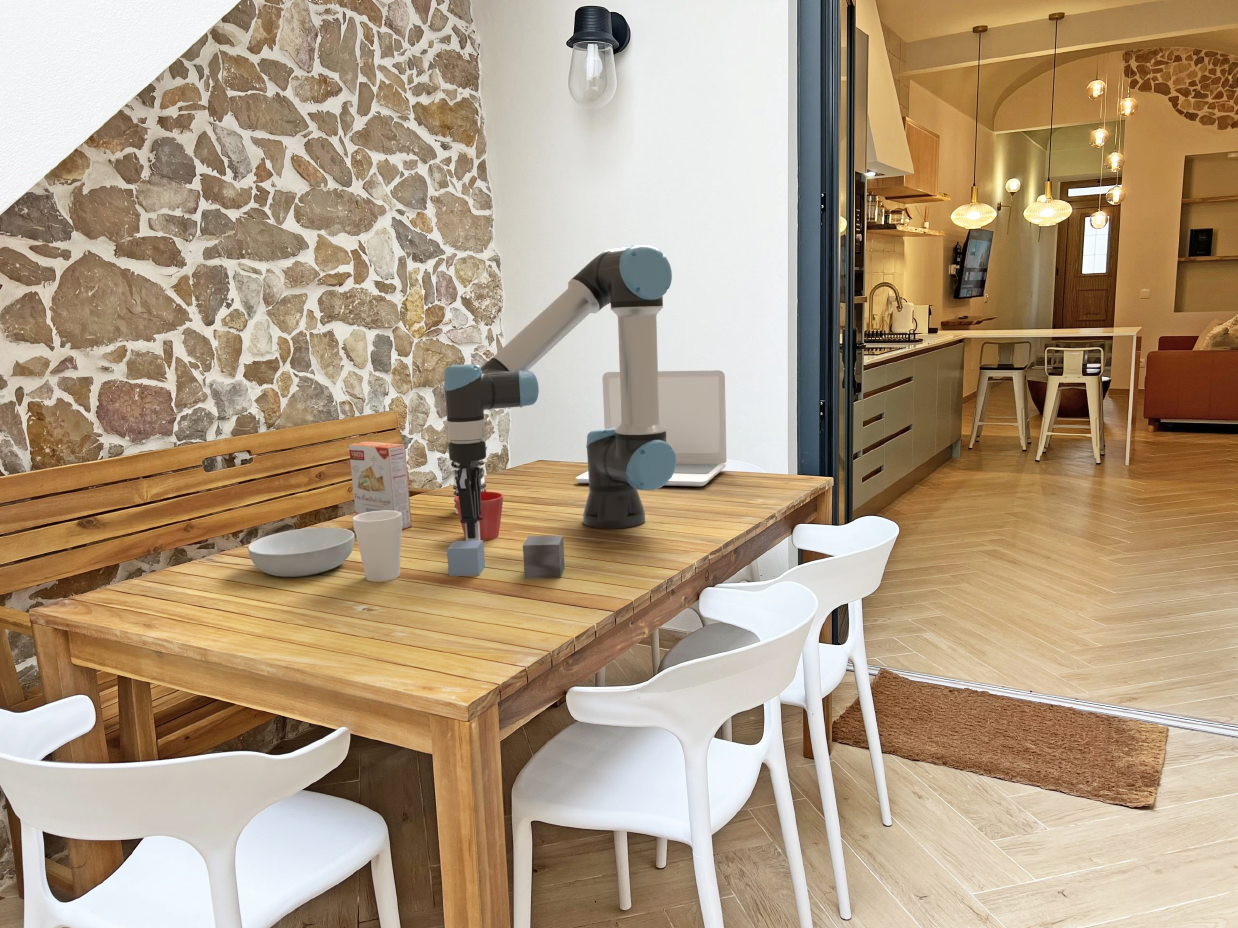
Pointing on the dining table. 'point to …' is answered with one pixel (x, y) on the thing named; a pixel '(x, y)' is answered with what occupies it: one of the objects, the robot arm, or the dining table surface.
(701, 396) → the laptop
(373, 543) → the foam cup
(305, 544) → the serving bowl
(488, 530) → the flower pot
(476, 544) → the slate-blue block
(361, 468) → the cracker box
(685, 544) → the dining table surface
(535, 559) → the charcoal block
